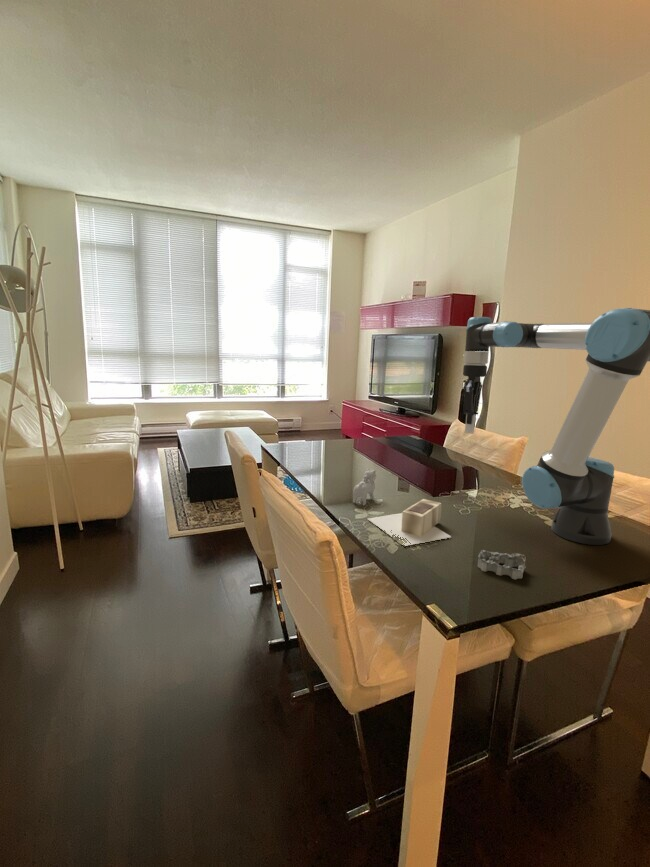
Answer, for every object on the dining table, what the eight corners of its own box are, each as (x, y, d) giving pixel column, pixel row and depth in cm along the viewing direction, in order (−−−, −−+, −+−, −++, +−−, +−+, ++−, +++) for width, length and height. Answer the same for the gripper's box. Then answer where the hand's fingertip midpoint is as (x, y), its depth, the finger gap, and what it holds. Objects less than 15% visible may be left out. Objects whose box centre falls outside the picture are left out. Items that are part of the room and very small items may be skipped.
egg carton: (526, 570, 104) (528, 555, 104) (521, 583, 98) (523, 567, 97) (481, 557, 110) (483, 543, 109) (474, 569, 104) (475, 554, 103)
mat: (451, 538, 120) (451, 536, 120) (404, 547, 114) (404, 546, 114) (409, 513, 138) (410, 511, 138) (367, 520, 132) (367, 518, 132)
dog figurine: (378, 496, 154) (380, 468, 152) (365, 507, 143) (366, 476, 141) (365, 493, 156) (366, 465, 154) (350, 504, 145) (351, 474, 143)
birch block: (441, 502, 129) (421, 516, 119) (440, 521, 131) (420, 536, 120) (423, 498, 133) (402, 510, 122) (422, 516, 134) (401, 530, 123)
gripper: (470, 363, 150) (464, 428, 155) (458, 364, 140) (452, 434, 145) (492, 364, 146) (485, 431, 151) (481, 365, 136) (474, 437, 140)
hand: (469, 432), depth 148 cm, fingers closed
